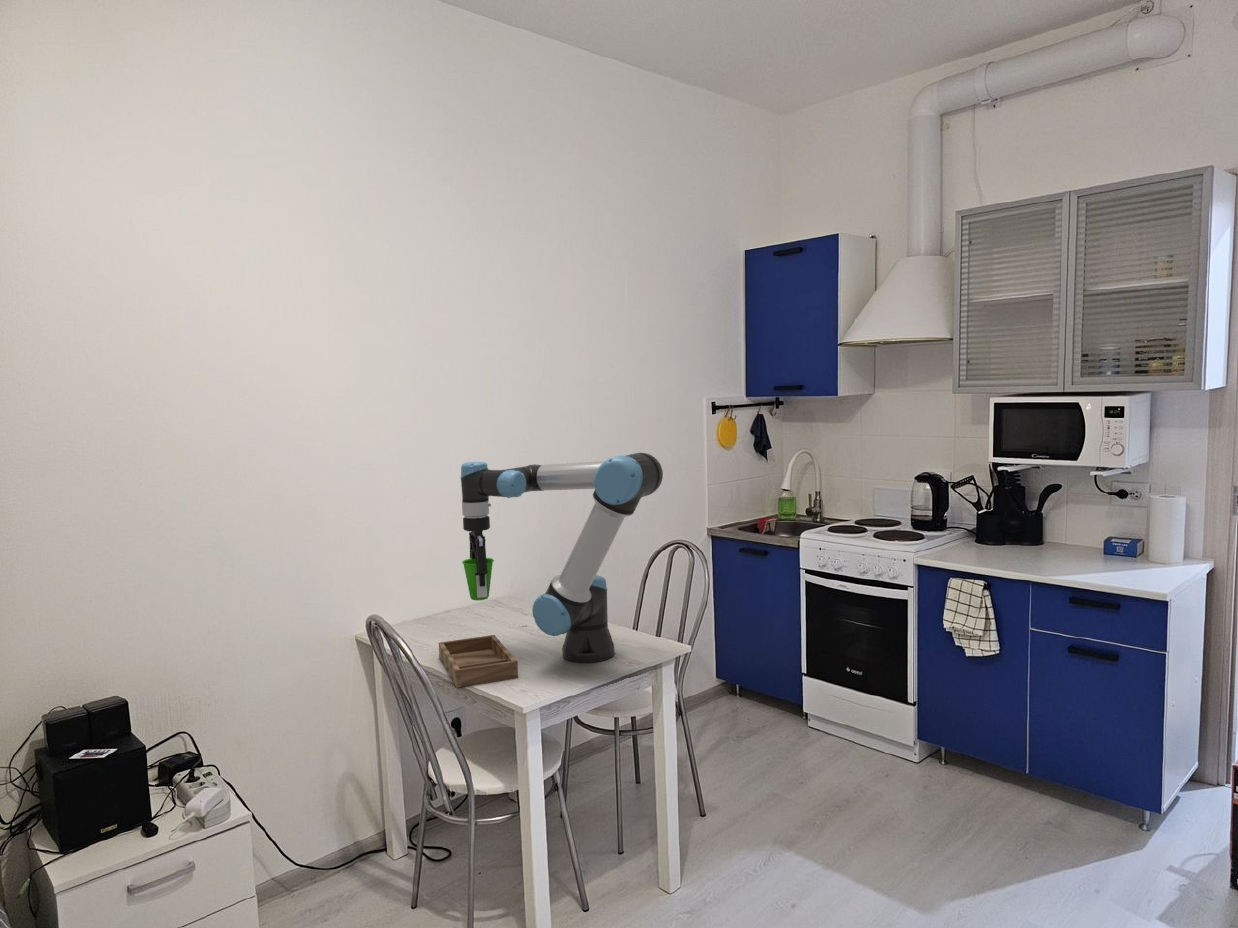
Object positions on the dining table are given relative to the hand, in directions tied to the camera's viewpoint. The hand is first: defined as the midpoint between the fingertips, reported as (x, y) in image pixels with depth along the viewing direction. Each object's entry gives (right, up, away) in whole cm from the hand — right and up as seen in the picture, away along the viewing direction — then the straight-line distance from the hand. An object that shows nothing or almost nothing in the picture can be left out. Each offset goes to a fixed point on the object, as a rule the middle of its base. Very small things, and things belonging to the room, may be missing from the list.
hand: (479, 593), depth 235 cm
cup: (0, -2, 0) cm, 2 cm away
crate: (+1, -19, -8) cm, 21 cm away
